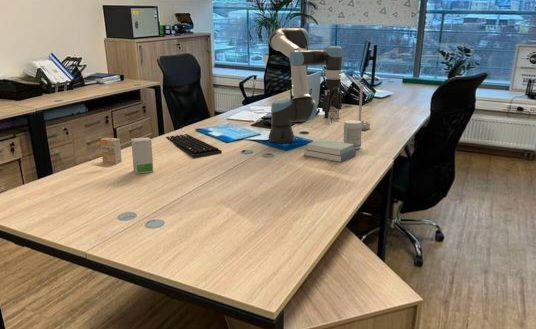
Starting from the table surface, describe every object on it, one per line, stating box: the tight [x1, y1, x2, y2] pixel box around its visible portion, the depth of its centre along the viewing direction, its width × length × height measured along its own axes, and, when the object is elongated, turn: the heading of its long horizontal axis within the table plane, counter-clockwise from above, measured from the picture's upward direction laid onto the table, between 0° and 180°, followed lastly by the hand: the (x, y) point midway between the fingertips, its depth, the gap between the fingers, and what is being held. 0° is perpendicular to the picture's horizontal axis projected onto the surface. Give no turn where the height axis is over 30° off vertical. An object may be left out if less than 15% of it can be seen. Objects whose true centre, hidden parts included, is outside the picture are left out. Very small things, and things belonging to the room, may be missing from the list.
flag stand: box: [358, 83, 371, 131], centre depth 285 cm, size 13×13×30 cm
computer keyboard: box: [165, 133, 223, 159], centre depth 250 cm, size 45×16×4 cm, turn 33°
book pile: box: [303, 138, 357, 163], centre depth 232 cm, size 22×15×6 cm
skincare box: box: [130, 137, 154, 175], centre depth 208 cm, size 8×7×16 cm
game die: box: [323, 104, 341, 124], centre depth 227 cm, size 9×8×10 cm
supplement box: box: [99, 137, 123, 166], centre depth 219 cm, size 8×5×13 cm, turn 70°
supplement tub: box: [343, 119, 363, 150], centre depth 246 cm, size 10×10×15 cm
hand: (331, 123), depth 229 cm, fingers closed on game die, 9 cm apart
